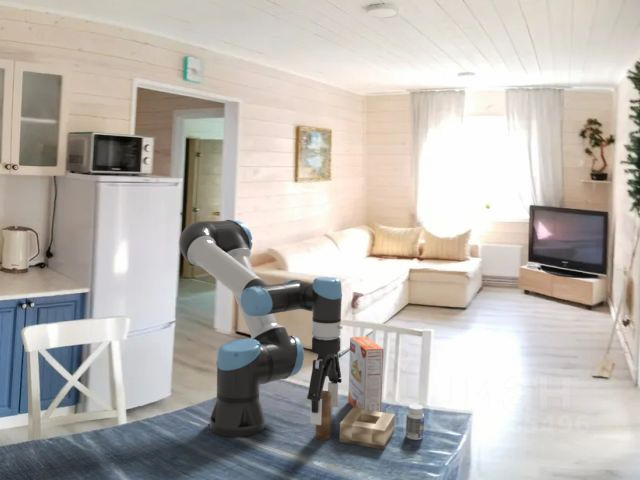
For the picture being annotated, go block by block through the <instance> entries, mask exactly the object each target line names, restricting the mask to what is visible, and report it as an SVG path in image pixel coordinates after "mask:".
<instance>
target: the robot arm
mask: <svg viewBox="0 0 640 480" xmlns="http://www.w3.org/2000/svg"><path fill="white" fill-rule="evenodd" d="M252 240H253V236H252V233H251V231H250V229H249V227H248V226H247V225H246V224H245V222H242V221H240V220H233V219H226V220H199V221H195V222H192V223H190V224H189V225H187V226H186V227H185V228H184V229H183V231H182V232H181V234H180V237H179V241H178V244H179V250H180V252H181V255H182V256H183V257H184V259H185V260H186V261H188V263H190V264H191V265H193V266H195V267H201V268H202V269H203V270H204V271H206V272H207V273H208V274H209V275H211V276H212V277H213V278H214V279H216V280H217V281H218V282H219V283H220V284H222V285H223V286H224V287H226V289H228V290H230V291H231V292H232V294H233V295H234V299H235V301H236V303H237V306H238V308H239V311H240V313H241V314H242V315H241V316H242V318H243V320H244V322H245V325H246V327H247V329H248V332H249V334H250V338H242V339H241V338H238V339H237V338H236V339H232V340H229V341H227V342H225V343H223V344H222V345H221V346H220V347H219V348H218V351H217V360H216V401H215V403H214V406H213V409H212V412H211V415H210V418H209V428H210V430H211V432H213V433H215V434H216V435H219V436H223V437H227V438H229V437H230V438H244V437H248V436H249V437H250V436H253V435H255V434H258V433H261V431H263V430H264V429H265V427H266V416H265V413H264V410H263V407H262V404H261V401H260V386H261V385H265V384H269V383H272V382H277V381H280V380H286V379H288V378H290V377H293V376H295V375H297V374H298V373H299V372H300V371H301V370H302V367H303V364H304V359H305V352H304V347H303V346H304V345H303V344H302V342H301V340H300V339H299V337H296V336H295V335H289V334H288V332H287V329H286V327H285V326H283V325H282V324H281V325H280V324H278V321H277V319H276V317H275V314H278V313H284V312H291V311H298V310H303V311H307V312H312V317H311V318H312V319H311V320H312V321H311V322H312V323H311V334H312V337H311V350H312V352H313V353H315V354H317V358H316V359H313V360H312V369H311V376H310V382H309V387H308V393H307V397H306V399H307V400H310V424H311V425H315V426H316V425H321V416H322V399H321V394H322V391H324V390H323V389H324V385H325V381H326V377H327V378H328V380H329V382H328V383H327V391H329V392H331V393H332V401H331V408H338V407H339V403H338V402H339V383H340V384H341V383H342V382H343V381H342V378H341V377H342V372H341V367H340V359H339V352H340V351H341V337H340V336H341V330H343V325H341V324H342V323H341V322H342V316H341V315H342V300H343V299H342V297H343V290H342V289H343V288H342V281H341V279H339V278H336V277H328V276H320V277H316V278H314V279H313V282H309V281H304V280H300V279H287V280H286V281H284V282H282V283H275V284H273V283H272V284H269V283H267V282H266V281H264V280H263V279H262V278H261V277H259V276H257V274H256V272H255V270H254V268H253V265H252V263H251V261H250V257H251V254H252V252H251V250H252V247H253V242H252Z"/></svg>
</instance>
